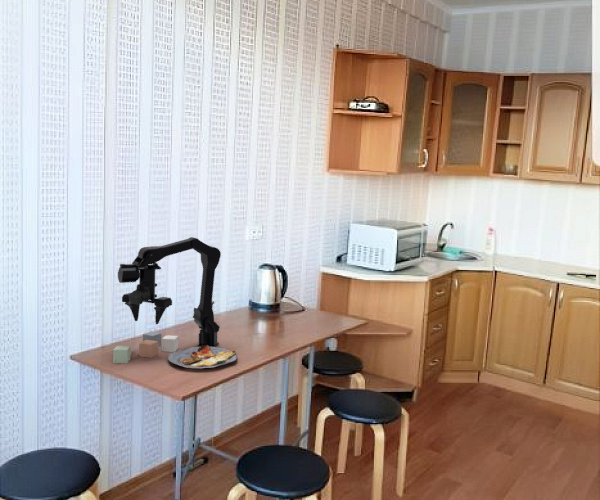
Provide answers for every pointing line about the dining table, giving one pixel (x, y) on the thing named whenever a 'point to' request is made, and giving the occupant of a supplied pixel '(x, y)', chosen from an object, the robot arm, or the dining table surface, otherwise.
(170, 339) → the off-white block
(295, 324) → the dining table surface
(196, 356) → the food plate
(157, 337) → the slate-grey block
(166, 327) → the dining table surface
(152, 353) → the terracotta block
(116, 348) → the sage-green block
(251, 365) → the dining table surface
